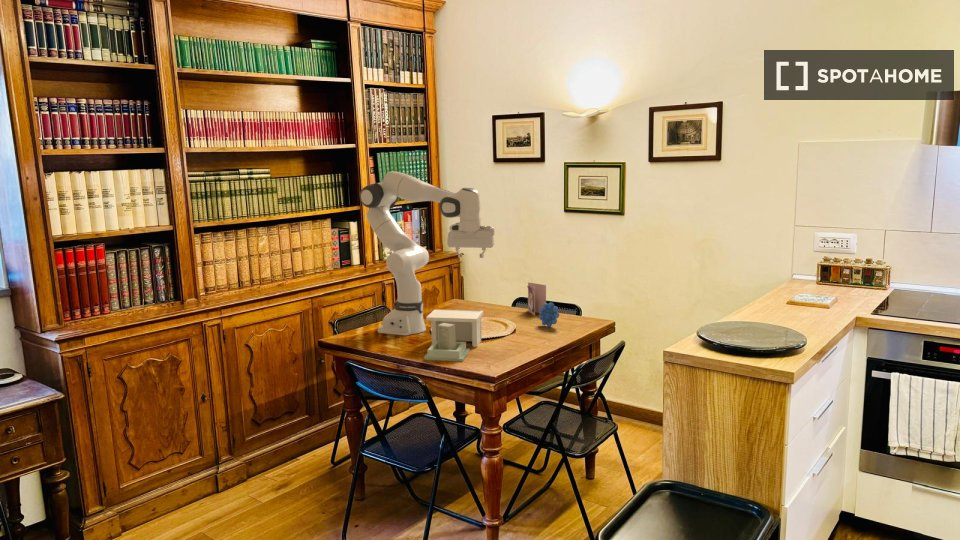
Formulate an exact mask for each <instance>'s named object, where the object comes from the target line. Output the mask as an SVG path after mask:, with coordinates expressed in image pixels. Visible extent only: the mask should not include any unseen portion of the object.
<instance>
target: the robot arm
mask: <svg viewBox="0 0 960 540" xmlns="http://www.w3.org/2000/svg"><path fill="white" fill-rule="evenodd" d="M400 199H402V200H404V201H407V202H413V203H415V202H416V203H417V202H436V203H439V212H440V213H441V215H442V216H443V217H445V218H447V219H452V218H459V222H456V223H453V224H451V225H450V226H449V232H448V233H447V237H446V238H447V239H446V240H447V241H446V245H447V247H448V248H455V251H456V253H457V255H458V256H457V257H458V258H459V259H460V258H461V259H462V258H463V253H462V252H460V248H466V249H467V248H474V249H475V248H481V250H482V252H481V253H479V259H484V254H485V252H486V251H487V249H492V248H493V247H494V246H495V240H494V239H495V238H494V236H495V229H494V228H493V227H492V226H489V225H487V226H485V225H481V216H480V215H481V214H480V212H481V198H480V194H479V191H478V190H477V189H475V188H471V187H462V188H460V190H458V191H456V192H453V191H450V190H446V189H443V188H441V187H438V186H435V185H432V184H430V183H428V182H426V181H423V180H422V179H419V178H417V177H415V176H412V175H411V174H407V173H404V172H400V171H395V170H392V171H388V172H387V173H386V174H385V175H384V177H383V180H382V182H375V183H370V184H367V185H365V186H364V187H362V189H361V190H360V192H359V200H360V203H361V205H363V206H364V207H366V208H369V209H368V210H367V212H366V220H367V221H368V224H369V225H370V227H371V230H373V232H374V234H375V235H376V236H377V238H378V240H379V241H380V242H381V244H382V245H383V247H385V248H387V249H389V250H390V251H392V252H391V253H390V254H388V256H387V258H386V260H385V261H386V263H385V264H386V267H387V270H388V271H389V272H390V273H391V274H392V276H393V278H394V280H395V283H396V290H397V291H396V292H397V298H396V300H395V301H394V302H393V304H392V305H393V309H392V310H391V311H390V312H389V313H387V314H386V315H385V316H384V317H383V319H382V325H380V326H379V327H378V328H377V333H378V334H387V335H395V336H396V335H398V336H410V335H414V334H415V335H416V334H419V333H423V332H425V331H426V330H427V328H426V324H425V320H424V315H423V312H424V303H423V299H422V284H421V282H420V281H419V280H418V279H417V277H416V273H415V272H416V271H417V270H420V269H422V268H424V266H426V265H427V264H428V263H429V262H430V261H429V260H430V254H429V252H428V249H426V248H425V247H423V246H421V245H420V244H418V243H416V242H415V241H414V240H413V239H411V238H410V237H409V236H408V235H407V234H406V233H405V232H404V231H403V229H402V228H401V227H400V225H399V223H397V221H396V219H395V217H393V216H392V214H391V211H390V209H393V208H394V207H395V205H396V203H397V202H399V200H400Z"/></svg>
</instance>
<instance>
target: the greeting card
mask: <svg viewBox="0 0 960 540" xmlns="http://www.w3.org/2000/svg"><path fill="white" fill-rule="evenodd" d="M526 287H527V307H528V308H527V311H528V312H529V313H530V314H531V315H532V316H534V317H535V316H536V313H539V310H540V308H543V305H544V304H545V303H547V285H546V284H539V283H535V282H534V283H533V282H527V286H526ZM539 314H540V313H539Z"/></svg>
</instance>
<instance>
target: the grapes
mask: <svg viewBox="0 0 960 540" xmlns="http://www.w3.org/2000/svg"><path fill="white" fill-rule="evenodd" d="M558 311H559V307H558V306H556V305H555V304H554V303H553V302H548V303H547V302H546V303H545V304H544V305H543V308H540V310H539V316H538V320H540V321H541V324H542V326H547V327H548V328H551V327H552V326H553V325H555V324H556V323H557V322H558V318H559V317H560V313H559V312H558Z"/></svg>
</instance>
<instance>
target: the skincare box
mask: <svg viewBox="0 0 960 540" xmlns="http://www.w3.org/2000/svg"><path fill="white" fill-rule="evenodd" d="M438 340H439V349H443V350H456V342H457V341H456V335H455V324H449V323H442V324H439V325H438Z"/></svg>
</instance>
